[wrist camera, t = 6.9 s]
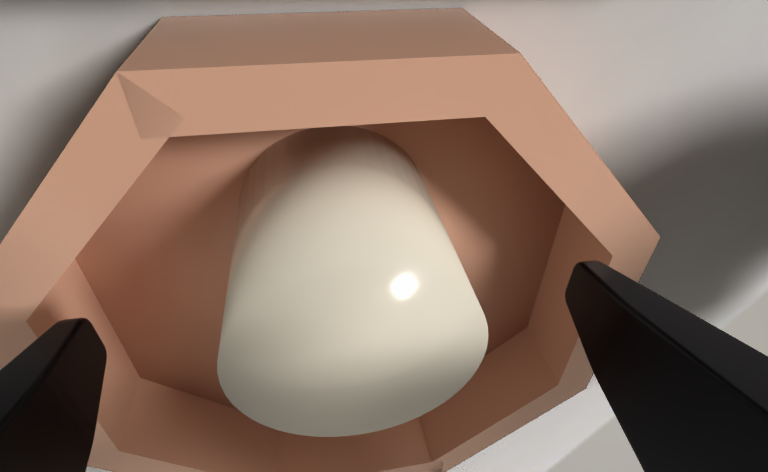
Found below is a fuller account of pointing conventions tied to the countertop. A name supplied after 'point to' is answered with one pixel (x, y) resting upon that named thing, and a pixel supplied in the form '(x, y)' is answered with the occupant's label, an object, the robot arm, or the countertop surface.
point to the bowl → (219, 211)
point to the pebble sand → (343, 290)
